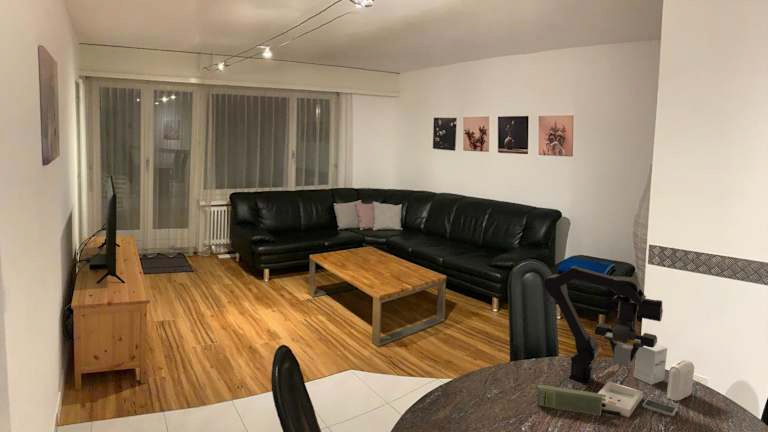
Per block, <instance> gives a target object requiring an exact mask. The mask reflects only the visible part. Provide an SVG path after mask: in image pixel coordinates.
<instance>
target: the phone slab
mask: <svg viewBox="0 0 768 432" xmlns="http://www.w3.org/2000/svg"><path fill="white" fill-rule="evenodd" d="M642 408H645V409H649V410H651V411H655V412H657V413H660V414H662V415H663V414H664V415H667V416H670V417H672V418H673V417H675V415H676V414H677V411H678V408H677V407H675V406H672V405H668V404H665V403H661V402H658V401H656V400H651V399H648V398H646V399H645V400H644V402H643V403H642Z"/></svg>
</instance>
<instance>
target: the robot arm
mask: <svg viewBox="0 0 768 432" xmlns="http://www.w3.org/2000/svg"><path fill="white" fill-rule="evenodd" d="M573 280H578V281H581V282H585V283H589V284H591V285H596V286H599V287H602V288H605V289H606V288H607V289H609V290H611V291H613V292H614V293H615V294H617V295H615V296H614V297H613V298H612V301H614V302H618V312H617V319H616V323H615V325H614V327H613V328H612V325H611V324H608V323H603V322H600V323H599V324H598V325H596V326H595V329H594V334H593V335H589V333H587V331H586V329H585V327H584V325H583V323H582V321H581V320H580V316H578V315H579V314H578V313H577V311H576V309H575V308H574V306H573V304H572V303H573V302H572V301H571V299H570V297H569V293H568V292H569V291H568V286H567V283H569V282H571V281H573ZM543 286H544V289H545V291H546V292H547V293H548V295H549V296H550V297H551V298H552V299H553V300H554V301H555V302H556V304H557V305H558V308H559V309H560V312H561V314H562V315H563V319H564V320H565V322H566V324H567V326H568V327H569V330H570V332H571V335H572V336H573V338H574V344H575V349H576V351H575V353H574V354H573V355H572V356H571V357H570V361H571V362H570V363H571V365H570V374H569V376H568V378H569V379H571V380H575V381H578V382H582V383H584V384H585V383H586V384H588V383H589V381H591V380H592V379H593V373H594V372H593V371H594V367H593V366H592V365H593V360H595V359H596V357H597V356H598V354H599V352H600V348H599V346H600V344H599V343H598V341H597V339H596V336H597V335H598V336H602V337H603V338H604V339H605V340H607V341H608V343H609V344H610V347H611V351H612V354H613V355H614V349H615V346H616V345H617V344H618V342H619V343H622V344H628V343H629V341H634V342H633V344H632V346H633V350H632V354H631V361H632V360H633V361H634V360H635V359H634V358H636V353H637V351H638V349H639V347H643V346H647V347H651V348H654V346H655V345H656V344H658V336H657V335H656V334H652V333H648V332H644V333H643V334H637V330H636V325H637V317H638V315H639V317H641V319H643V320H644V319H646V320H650V321H655V322H662V318H663V312H664V309H663V300H661V299H650V298H647V297H646V295H645V293H644V292H643V290H642V288H641V283H640V282H639V280H638V279H637V278H635V277H632V276H630V277H629V276H616V275H615V276H614V275H608V274H605V273H602V272H597V271H594V270H591V269H585V268H583V267H579V266H577V265H574V266H572V267H570V268H569V269H567V270H566V271H563V272H561V273H560V274H556V273H555V274H552V275H550V276H549V277H548V278H546V279H545V280H544V282H543ZM637 314H638V315H637ZM595 335H596V336H595Z"/></svg>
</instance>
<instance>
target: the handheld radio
mask: <svg viewBox="0 0 768 432" xmlns="http://www.w3.org/2000/svg"><path fill="white" fill-rule="evenodd" d="M602 397H606V395H604V394H598V392H590V391H585V390H577V389H570V388H564V387H557V386H551V385H544V384H537V394H536V406H538V407H544V408H550V409H557V410H563V411H570V412H574V413H575V412H576V413H580V414H581V413H582V414H588V415H594V416H597V417H598V416H599V417H601V415H602V414H603V415H605V414H606V415H611V416H616V417H621V416H622V415H621V413H620V412H617V411H610V410H605V409H602V406H603V407H606V404H604V403H602V401H606V399H605V398H602Z"/></svg>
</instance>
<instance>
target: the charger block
mask: <svg viewBox="0 0 768 432" xmlns="http://www.w3.org/2000/svg"><path fill="white" fill-rule="evenodd" d="M632 350H633V345H631V344H630V345H629V344H627V343H623V342H617V345H616V346H615V349H614V354H613V363H614V364H619V365H623V366H626V367H630V366H631V364H632V363H633V361H634V359H633V360H632V361H631V354H632Z"/></svg>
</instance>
